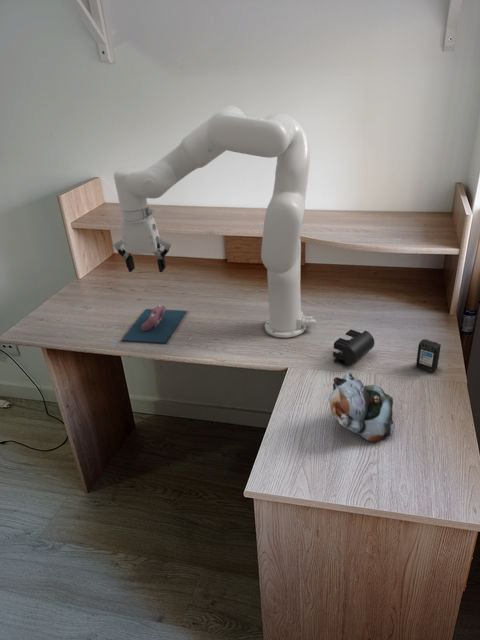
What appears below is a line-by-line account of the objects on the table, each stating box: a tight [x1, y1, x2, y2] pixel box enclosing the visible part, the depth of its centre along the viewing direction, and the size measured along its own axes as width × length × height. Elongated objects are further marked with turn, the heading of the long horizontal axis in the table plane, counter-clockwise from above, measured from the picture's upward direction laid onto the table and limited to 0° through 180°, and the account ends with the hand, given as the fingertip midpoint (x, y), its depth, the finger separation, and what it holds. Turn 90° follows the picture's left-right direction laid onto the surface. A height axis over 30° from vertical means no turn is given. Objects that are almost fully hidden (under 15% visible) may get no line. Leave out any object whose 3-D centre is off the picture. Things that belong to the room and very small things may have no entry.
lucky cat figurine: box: [328, 372, 395, 443], centre depth 115 cm, size 15×12×14 cm
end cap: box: [332, 329, 375, 367], centre depth 140 cm, size 10×7×7 cm
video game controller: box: [141, 304, 167, 331], centre depth 161 cm, size 10×5×7 cm, turn 168°
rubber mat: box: [121, 308, 187, 345], centre depth 163 cm, size 14×20×1 cm
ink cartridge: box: [415, 338, 442, 374], centre depth 134 cm, size 5×2×8 cm, turn 51°
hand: (147, 270), depth 155 cm, fingers open, 9 cm apart
